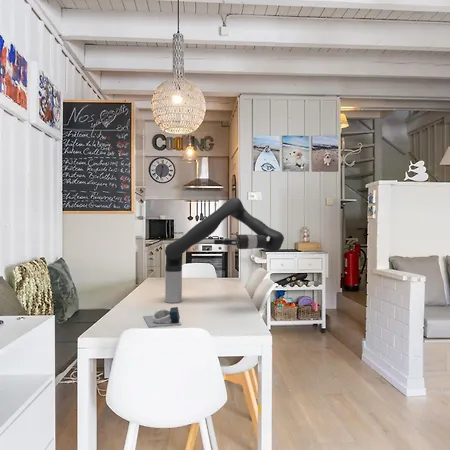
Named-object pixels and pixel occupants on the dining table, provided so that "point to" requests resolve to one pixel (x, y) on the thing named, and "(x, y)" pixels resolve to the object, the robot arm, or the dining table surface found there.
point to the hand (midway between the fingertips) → (214, 242)
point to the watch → (162, 314)
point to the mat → (151, 323)
